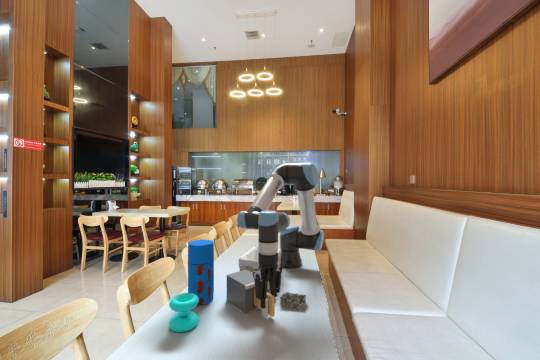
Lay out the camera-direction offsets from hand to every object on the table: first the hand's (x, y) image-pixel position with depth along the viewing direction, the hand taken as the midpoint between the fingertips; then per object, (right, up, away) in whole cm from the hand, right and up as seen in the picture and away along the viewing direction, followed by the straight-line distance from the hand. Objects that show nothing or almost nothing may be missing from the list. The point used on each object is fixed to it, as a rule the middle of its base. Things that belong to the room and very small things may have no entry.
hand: (268, 314), depth 95 cm
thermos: (-29, -2, +14) cm, 33 cm away
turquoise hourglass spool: (-30, -2, -5) cm, 31 cm away
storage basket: (-4, -2, +35) cm, 35 cm away
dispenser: (-10, -1, +11) cm, 15 cm away
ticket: (-5, +1, +6) cm, 8 cm away
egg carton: (+10, -2, +11) cm, 15 cm away
